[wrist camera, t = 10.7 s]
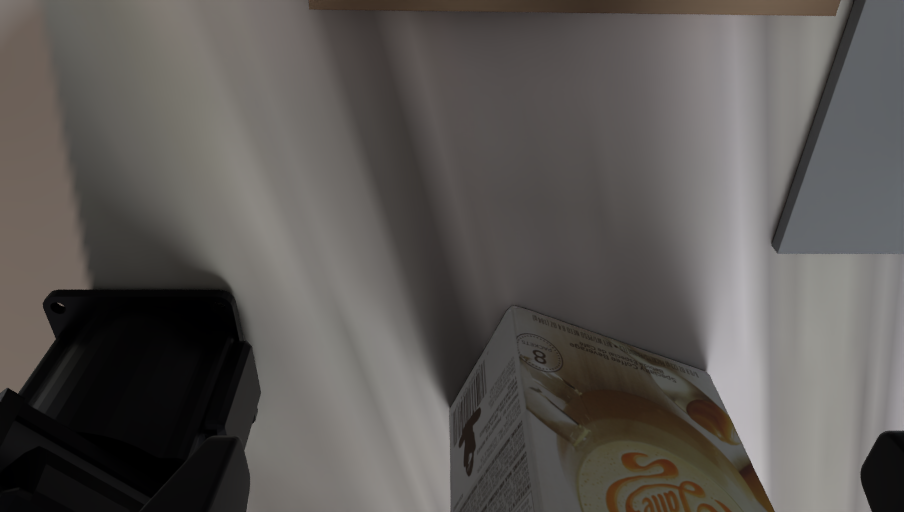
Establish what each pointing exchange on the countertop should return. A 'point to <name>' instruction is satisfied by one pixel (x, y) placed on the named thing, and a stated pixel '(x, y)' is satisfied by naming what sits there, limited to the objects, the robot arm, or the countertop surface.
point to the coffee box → (591, 429)
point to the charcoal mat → (854, 146)
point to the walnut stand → (596, 6)
